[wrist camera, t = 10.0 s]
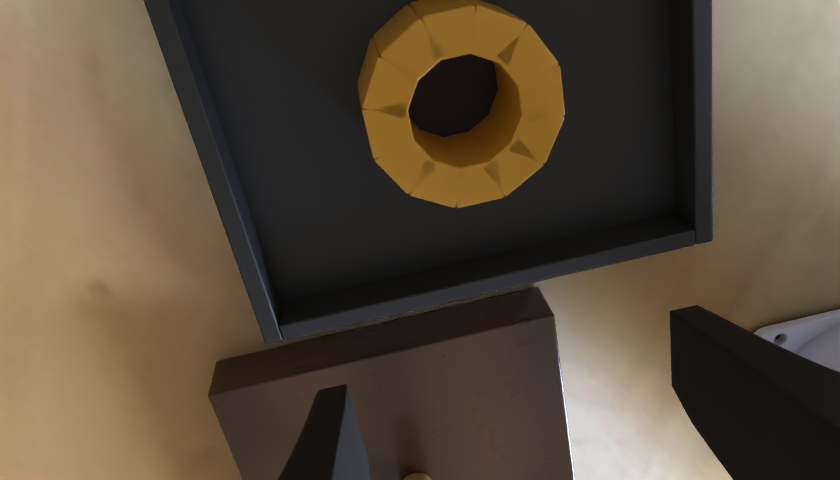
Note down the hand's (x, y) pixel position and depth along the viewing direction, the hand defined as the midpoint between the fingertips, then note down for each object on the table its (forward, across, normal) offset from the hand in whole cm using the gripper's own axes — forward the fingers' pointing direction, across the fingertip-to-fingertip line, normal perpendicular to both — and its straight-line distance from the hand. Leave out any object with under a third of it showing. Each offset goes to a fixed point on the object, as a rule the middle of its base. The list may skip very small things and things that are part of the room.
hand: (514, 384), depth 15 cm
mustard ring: (+9, -1, -4) cm, 10 cm away
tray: (+10, -1, -4) cm, 11 cm away
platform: (+10, +3, +10) cm, 14 cm away
